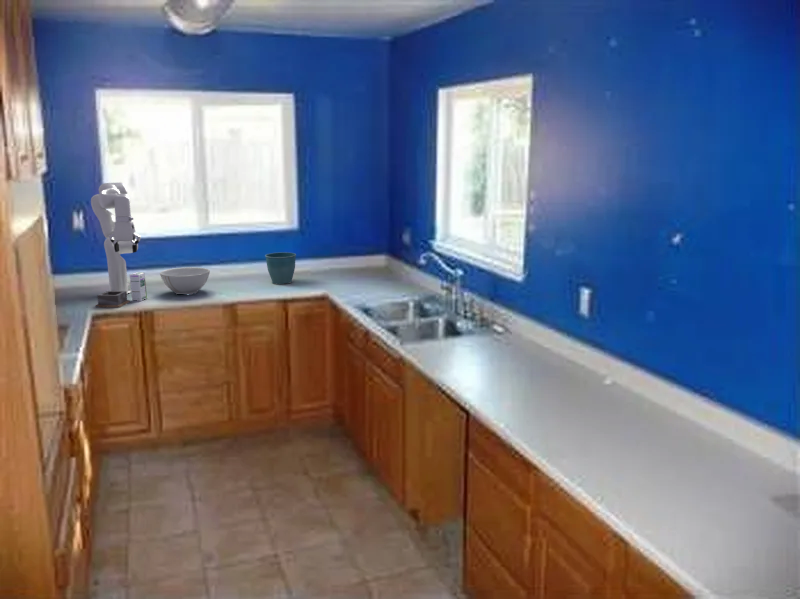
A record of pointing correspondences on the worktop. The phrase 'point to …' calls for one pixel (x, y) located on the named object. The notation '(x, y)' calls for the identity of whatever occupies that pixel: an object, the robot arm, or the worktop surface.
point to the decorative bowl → (185, 279)
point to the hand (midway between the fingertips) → (126, 251)
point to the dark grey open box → (112, 299)
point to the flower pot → (281, 266)
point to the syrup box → (138, 286)
